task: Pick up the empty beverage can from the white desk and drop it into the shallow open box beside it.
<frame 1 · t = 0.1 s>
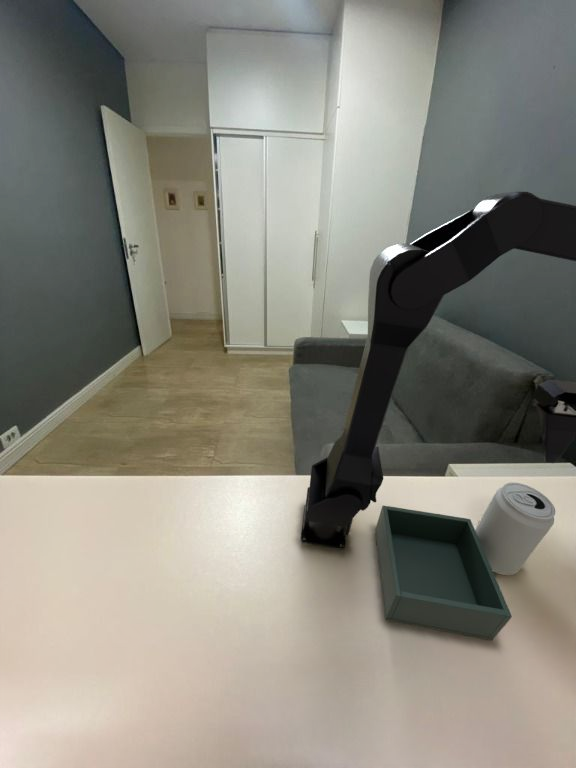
hand: (571, 488, 37), 15 cm above the table, tool pointing down, fingers open, 9 cm apart
shallow open box: (425, 577, 41), on the table
beverage can: (491, 556, 45), on the table
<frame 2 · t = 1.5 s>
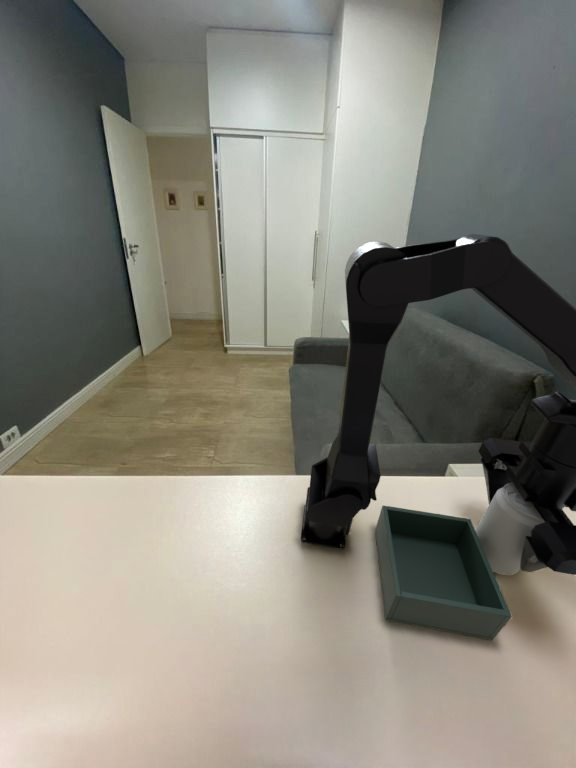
hand: (507, 537, 43), 4 cm above the table, tool pointing down
beverage can: (491, 556, 45), on the table, touching gripper
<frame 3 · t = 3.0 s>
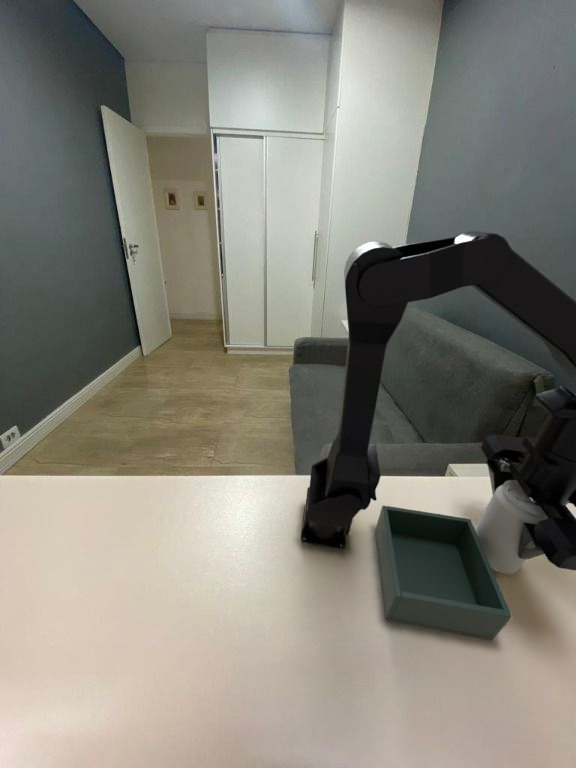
hand: (510, 534, 42), 5 cm above the table, tool pointing down, fingers closed on beverage can, 6 cm apart
beverage can: (491, 555, 45), on the table, touching gripper
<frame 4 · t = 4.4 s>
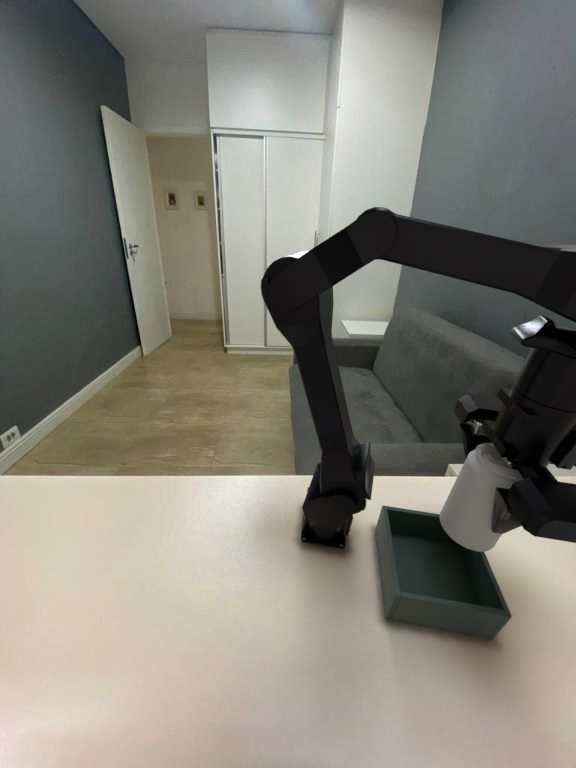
hand: (484, 506, 36), 13 cm above the table, tool pointing down, fingers closed on beverage can, 6 cm apart
beverage can: (463, 532, 39), point 8 cm above the table, touching gripper
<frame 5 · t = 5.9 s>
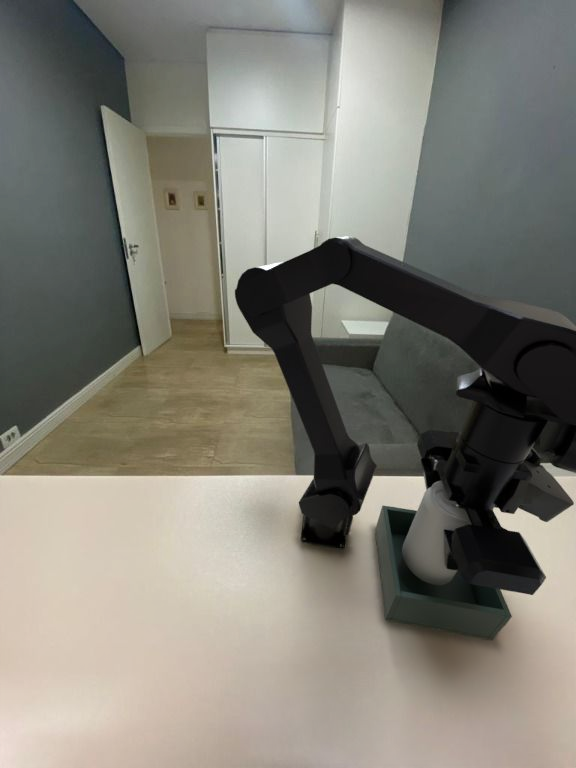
hand: (442, 540, 38), 8 cm above the table, tool pointing down, fingers closed on beverage can, 6 cm apart
beverage can: (425, 563, 40), point 3 cm above the table, touching gripper
when the fingers open (5 cm above the table, at t = 7.1 s): beverage can stays where it is, resting on shallow open box.
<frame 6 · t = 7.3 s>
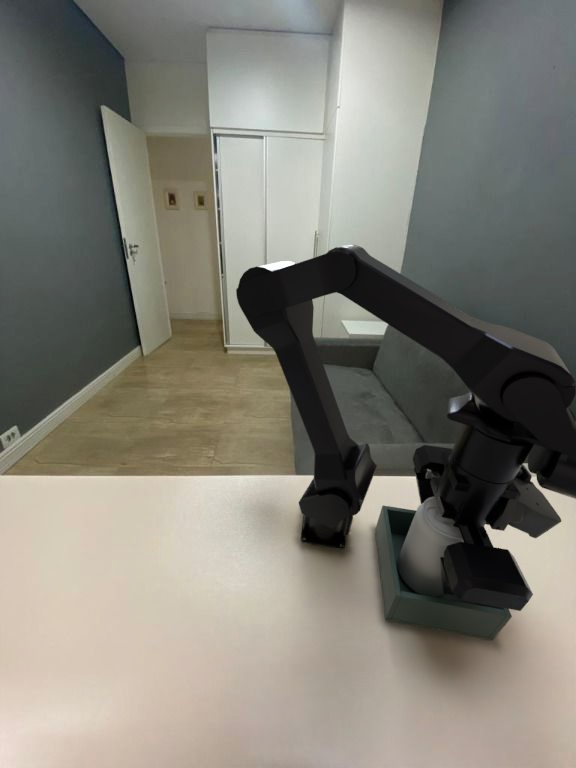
hand: (436, 554, 39), 5 cm above the table, tool pointing down, fingers open, 9 cm apart
beverage can: (420, 574, 41), resting on shallow open box
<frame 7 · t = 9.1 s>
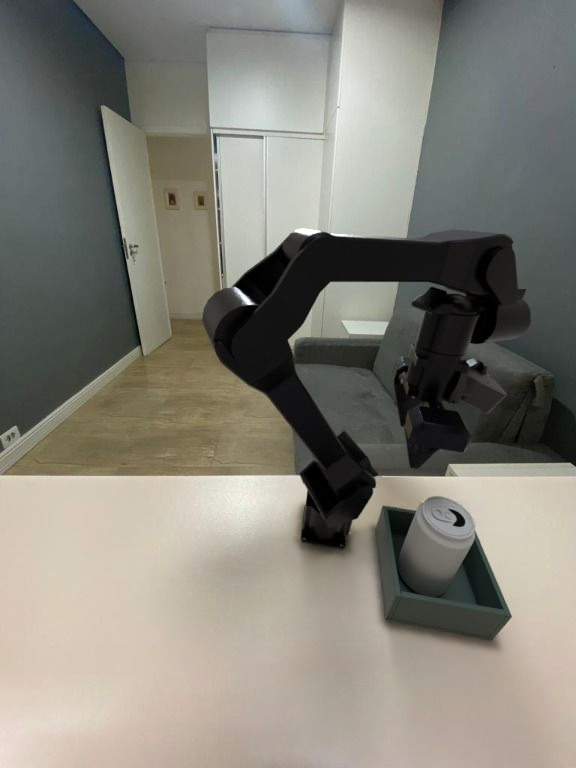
hand: (408, 445, 45), 13 cm above the table, tool pointing down, fingers open, 9 cm apart
nothing on the table moved.
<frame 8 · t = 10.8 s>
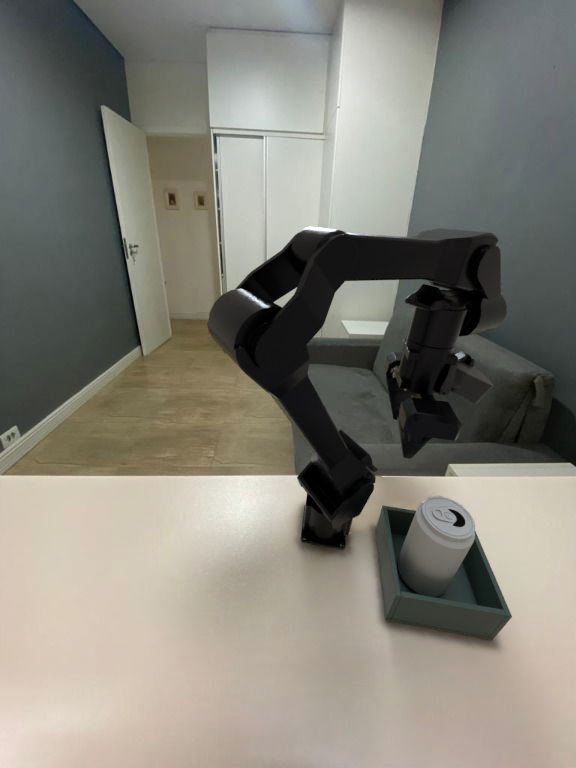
hand: (401, 436, 47), 13 cm above the table, tool pointing down, fingers open, 9 cm apart
nothing on the table moved.
at the end: beverage can inside the target area in the shallow open box (0.8 cm from its centre), point 0.3 cm above the shallow open box's base; beverage can tilted 0°; the gripper is holding nothing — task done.
